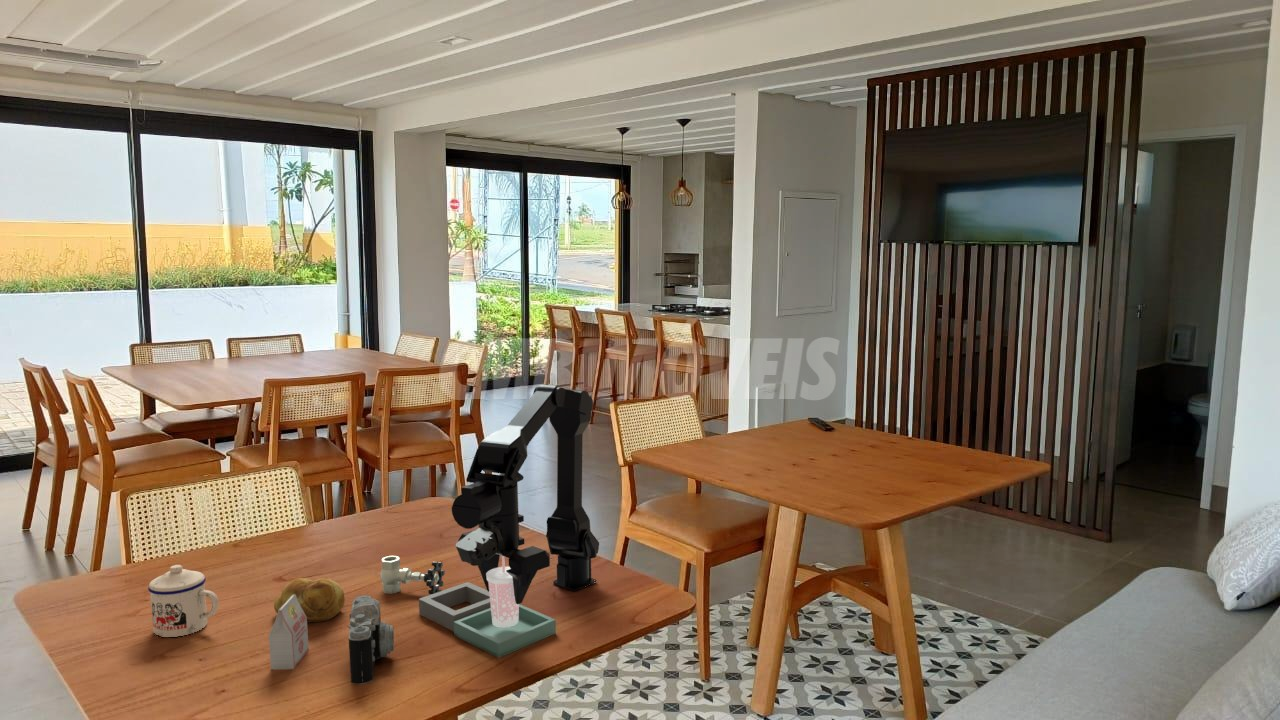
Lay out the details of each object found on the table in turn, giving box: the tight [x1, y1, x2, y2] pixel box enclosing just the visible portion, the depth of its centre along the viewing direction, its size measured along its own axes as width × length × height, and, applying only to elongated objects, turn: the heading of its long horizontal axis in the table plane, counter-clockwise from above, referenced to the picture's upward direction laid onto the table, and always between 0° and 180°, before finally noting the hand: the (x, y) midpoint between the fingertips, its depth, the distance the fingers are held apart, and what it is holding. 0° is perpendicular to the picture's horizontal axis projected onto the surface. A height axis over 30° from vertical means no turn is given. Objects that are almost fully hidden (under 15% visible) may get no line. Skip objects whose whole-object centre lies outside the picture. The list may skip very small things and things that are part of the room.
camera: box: [347, 594, 395, 685], centre depth 145 cm, size 15×7×10 cm, turn 15°
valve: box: [379, 555, 446, 595], centre depth 174 cm, size 7×7×12 cm
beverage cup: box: [486, 555, 519, 628], centre depth 154 cm, size 6×6×14 cm
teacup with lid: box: [148, 564, 219, 637], centre depth 158 cm, size 12×9×12 cm
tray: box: [453, 603, 557, 659], centre depth 155 cm, size 13×13×2 cm
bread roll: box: [273, 577, 346, 623], centre depth 164 cm, size 13×10×8 cm
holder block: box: [418, 581, 491, 632], centre depth 164 cm, size 11×11×3 cm
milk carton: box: [268, 594, 309, 670], centre depth 146 cm, size 4×7×10 cm, turn 1°
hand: (504, 597), depth 155 cm, fingers closed on beverage cup, 8 cm apart
